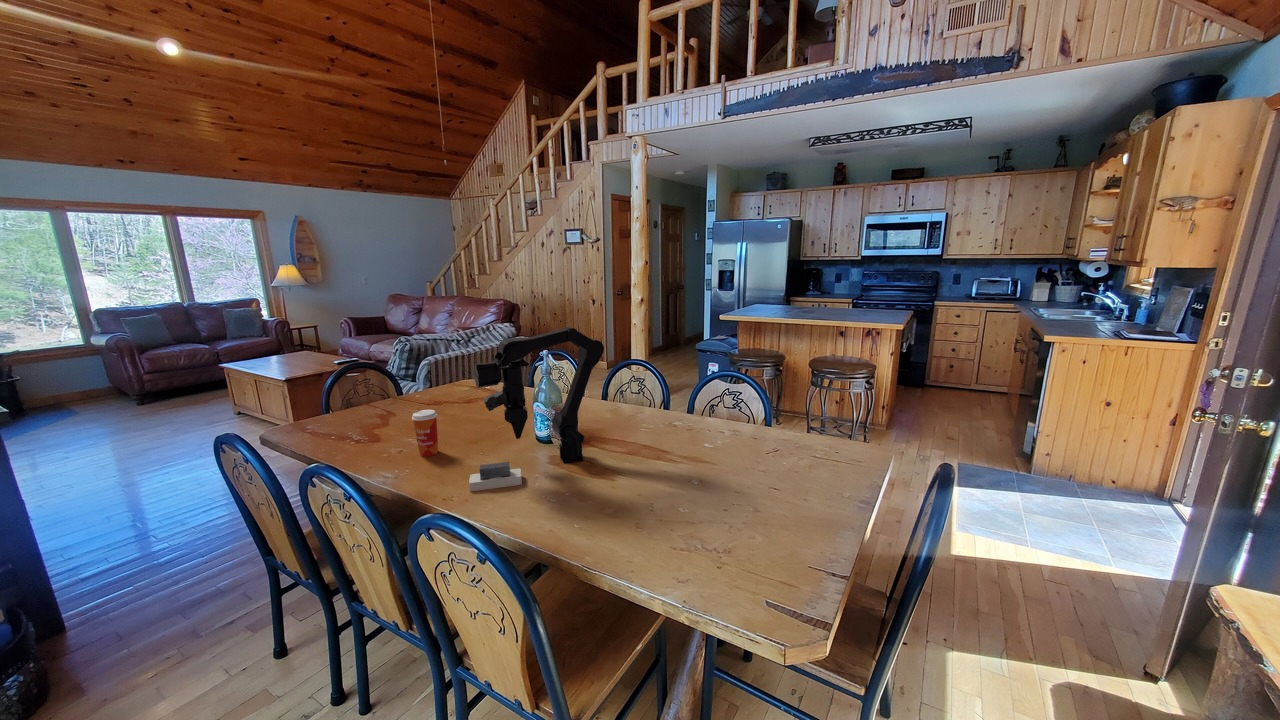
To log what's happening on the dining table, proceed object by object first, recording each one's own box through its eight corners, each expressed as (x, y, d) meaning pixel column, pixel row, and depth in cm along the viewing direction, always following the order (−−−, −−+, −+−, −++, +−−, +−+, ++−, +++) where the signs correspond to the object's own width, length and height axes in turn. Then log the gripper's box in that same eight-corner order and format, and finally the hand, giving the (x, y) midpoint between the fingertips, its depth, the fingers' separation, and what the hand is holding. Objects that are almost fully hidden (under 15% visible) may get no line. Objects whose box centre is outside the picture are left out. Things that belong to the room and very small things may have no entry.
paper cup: (411, 455, 160) (405, 415, 157) (429, 447, 167) (424, 408, 164) (429, 459, 157) (424, 417, 154) (446, 450, 164) (442, 410, 161)
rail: (521, 476, 143) (520, 468, 143) (521, 484, 138) (521, 476, 137) (471, 482, 140) (470, 474, 139) (469, 491, 134) (468, 483, 134)
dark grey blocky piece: (510, 478, 141) (509, 461, 140) (510, 482, 138) (509, 465, 137) (481, 482, 139) (480, 465, 138) (481, 486, 136) (479, 469, 135)
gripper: (485, 377, 148) (490, 426, 151) (483, 393, 130) (488, 448, 134) (522, 374, 151) (526, 421, 154) (525, 389, 133) (530, 443, 136)
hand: (517, 433), depth 144 cm, fingers open, 9 cm apart
